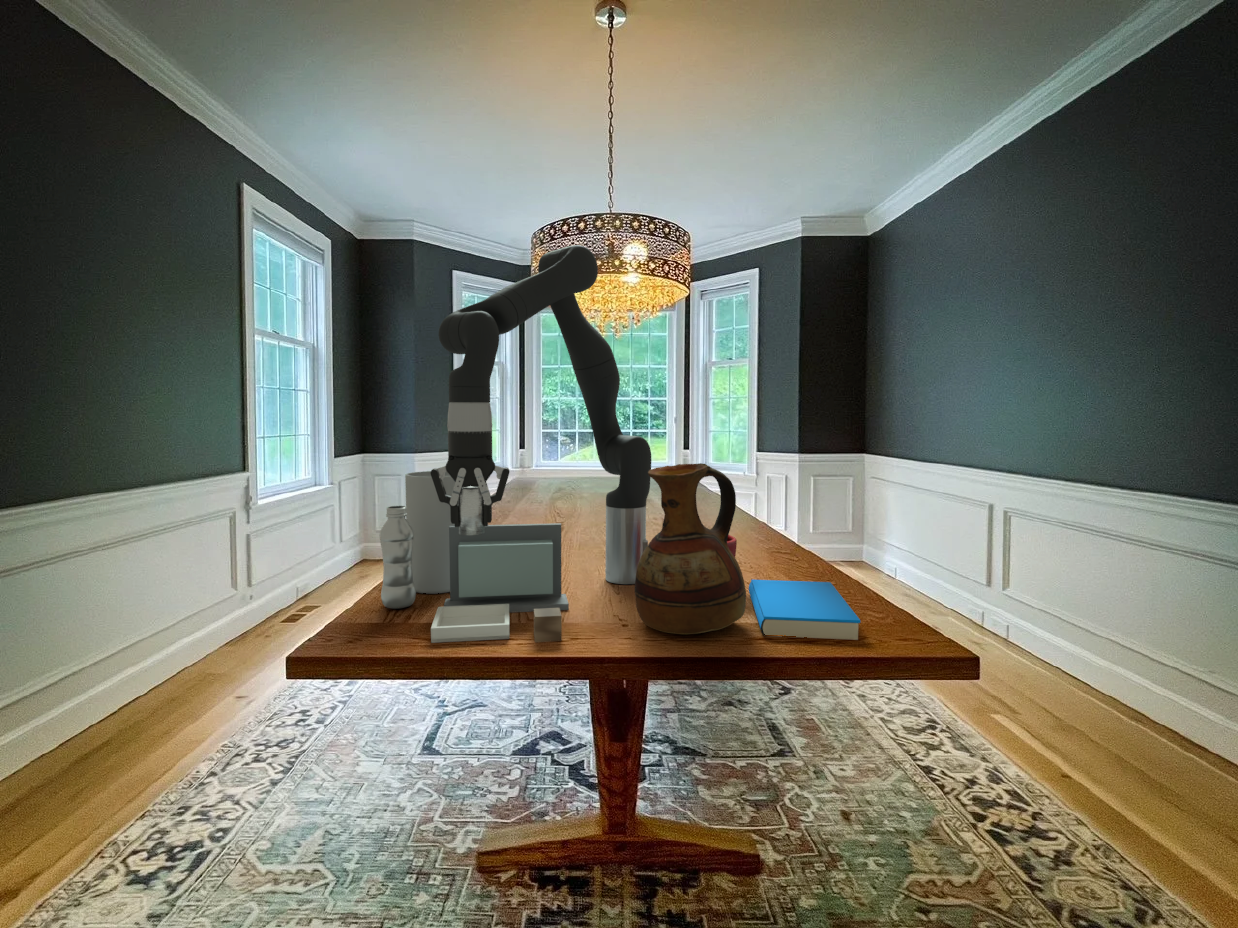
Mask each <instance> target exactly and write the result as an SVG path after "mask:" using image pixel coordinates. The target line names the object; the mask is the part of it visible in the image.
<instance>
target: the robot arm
mask: <svg viewBox="0 0 1238 928" xmlns="http://www.w3.org/2000/svg"><path fill="white" fill-rule="evenodd" d="M537 266H538V267H537V268H538V269H537V270H538V272H537V273H536V274H534V275H531V276H529V277H526V278H524V279H521V280H517V282H513V283H512V284H509V285H508V286H505V287H503V288H501V289H499V290H498V291H496V292H495V293H493V294H491V295H490V296H488V297H487V298H485V299H484V300H482V301H479V302H476V303H473V304H470V305H468V306H465V307H462V308H459V309H457V310H456V311H454V312H452V313H449V315H447V316H446V317H444V319H443V320H442V321H441V323H440V326H439V328H438V340H439V342H440V344H441V346H442V347H443V348H444V349H445V350H446V351H447V352H449V353H452V354H455V355H464V357H463V361H462V364H461V365H460V366H459V367H457V368H455V369H452V370H451V371H450V372H449V376H448V402H449V403H448V410H447V411H448V412H447V423H446V426H447V449H448V450H447V455H448V456H447V457H448V458H447V460H446V461H447V462H446V464H445V465H444V466H442V467H441V466H440V467H438V468H437V467H435V468H432V469H431V470H430V471H431V472H430V474H431V477H432V480H433V483H434V486H435V489H436V492H437V495H438V498H439V501H440V502H442V503H443V502H444V503H447V504H449V505H450V514H451V523H452V524H455V527H459V506H458V498H459V494H460V491H461V488H462V487H468V486H473V487H479V488H480V491H481V494H482V496H483V499H484V506H483V507H484V526H488V525H489V524H492V520H493V509H492V508H493V505H494V504H495V503H498V502H500V501H502V499H503V495H504V492H505V489H506V485H507V482H508V479H509V475H510V468H509V467H506V466H505V467H502V466H498V465H496V464H495V461H494V460H493V416H492V415H493V414H492V407H491V377H492V373H493V371H494V366H495V363H496V358H497V353H498V349H499V345H500V335H504V334H507V333H509V332H511V331H512V330H514V329H516V328H517V327H519V326H520V325H521V324H524V323H525V322H526V321H528V320H529V319H531V318H532V317H533V316H535V315H537V314H538V313H540V312H542V311H543V310H544V309H547V308H548V307H550V308H551V310H552V313H553V315H554V317H555V319H556V322H557V325H558V327H559V329H560V333H561V335H562V339H563V340H564V344H565V347H566V350H567V352H568V355H569V359H570V362H571V365H572V369H573V372H574V373H573V374H574V375H575V378H576V381H577V384H578V387H579V389H580V392H581V395H582V398H583V401H584V405H585V408H586V411H587V414H588V418H589V421H590V426H591V429H592V434H593V438H594V443H595V448H596V453H597V456H598V460H599V462H600V465H601V467H602V468H603V470H605V472H607V473H608V474H610V475H615V476H619V482H618V486H617V487H616V488H615V489H614V490H611V491H609V492H607V494H606V496H605V571H604V572H605V573H604V574H605V580H606V581H607V582H609V583H613V584H617V585H635V579H636V571H637V567H638V563H639V561H640V558H641V555H642V554H643V552H644V550H645V549H646V547H647V546H648V544H649V541H648V539H647V500H648V496H649V493H650V490H651V489H650V487H651V477H650V476H649V474H648V471H649V470H650V469H652V450H651V447H650V444H649V442H648V441H647V440H646V439H645V438H644V437H643V436H639V435H629V434H628V435H624V434H623V432H622V430H621V427H620V423H619V420H618V417H617V401H618V396H619V391H620V383H621V381H620V380H621V378H620V372H619V368H618V365H617V361H616V358H615V355H614V353H613V350H612V347H611V345H610V344H609V343H608V341H607V340H606V338H604V337H603V336H602V334H601V333H600V332H599V331H598V330H597V329H596V328H595V326H593V325H592V324H591V323H590V322H589V321H588V320H587V318H586V316H584V314H583V312H582V310H581V308H580V305H579V303H578V300H577V298H576V295H575V294H578V293H579V294H580V293H582V292H585V291H587V290H589V289H590V288H592V287H593V285H594V284H595V283H596V281H597V278H598V275H599V267H598V262H597V259H596V256H595V255H594V253H593V252H592V251H591V250H590V249H589V248H587V247H586V246H583V245H580V244H579V245H578V244H574V245H569V246H565V247H561V248H558V249H555V250H551V251H549V252H545V253H544V254H542V255H541V257H540V258H539V260H538V265H537ZM446 471H447V472H448V473H449V475H450V476H451V477H452V479H453V480H454V481H455V486H454V489H453V493H452V496H449V495H447V494H446V491H445V488H444V485H443V481H442V479H444V477H445V472H446ZM494 472H495V474H496V478H497V479H498V480H499V481H498V483H497V484H498V485H497V488H496V492H495V493H494V494H492V495H491V492H490V490H489V485H488V483H487V481H488V480H489V478H490V477H491V475H492V474H493V473H494Z"/></svg>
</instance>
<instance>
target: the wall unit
mask: <svg viewBox="0 0 1238 928" xmlns="http://www.w3.org/2000/svg"><path fill="white" fill-rule="evenodd" d="M449 553H450V592H449V597H448V598H445V600H444V604H443V606H442V607H444V606H467V605H491V604H509V613H528V612H530V613H531V612H534V609H541V608H560V611H569V607H570V605H569V601H568V597H567V594H566V593H562V523H561V522H558V523H557V522H556V523H554V522H553V523H521V524H520V523H518V524H517V523H516V524H515V523H514V524H513V523H511V524H488V526H484V533H483V534H480V535H461V534H459V527H455V526H449Z"/></svg>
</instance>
